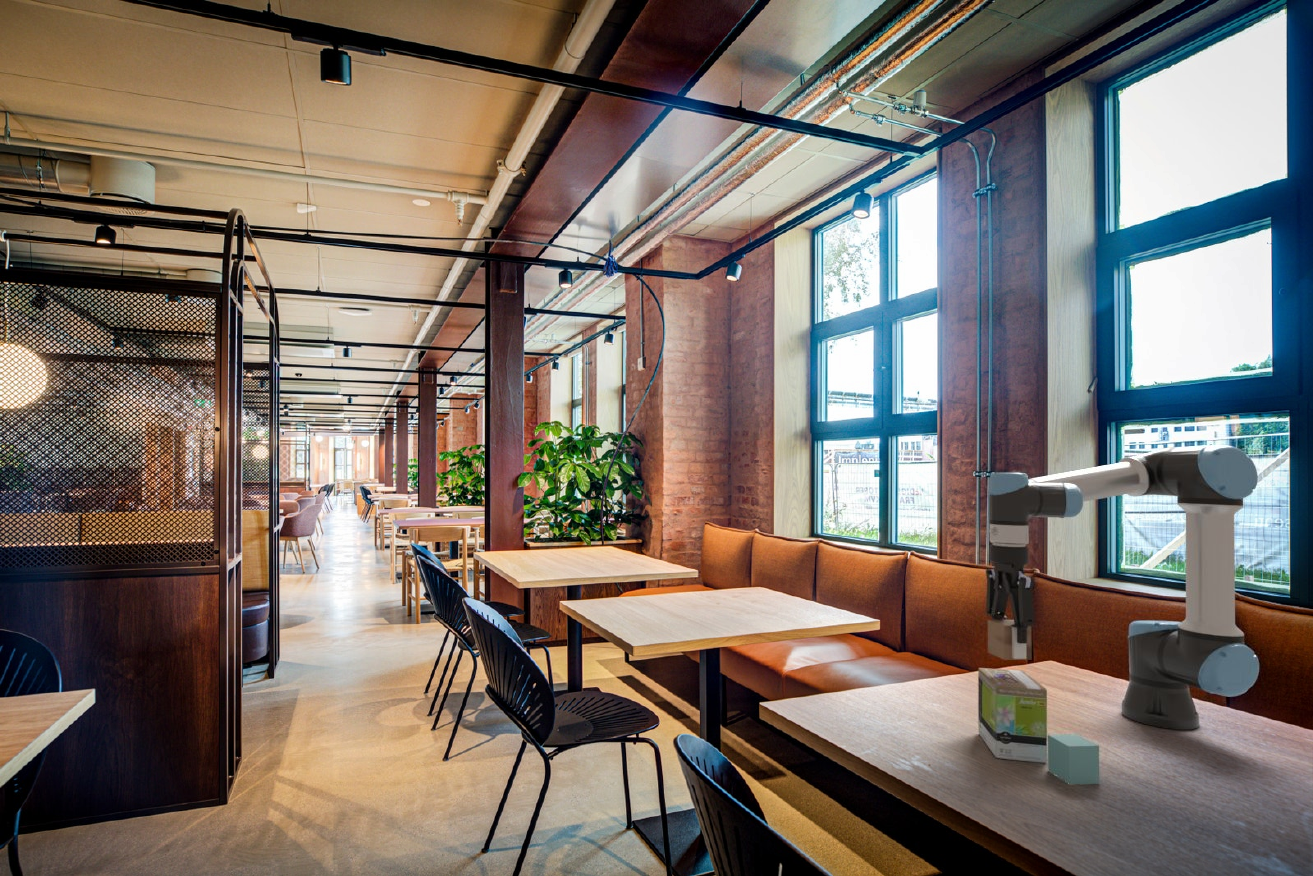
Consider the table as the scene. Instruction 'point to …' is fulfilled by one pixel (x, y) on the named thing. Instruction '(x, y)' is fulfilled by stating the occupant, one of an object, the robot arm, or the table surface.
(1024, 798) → the table surface
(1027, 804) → the table surface
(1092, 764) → the teal block
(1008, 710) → the tea box
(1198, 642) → the robot arm
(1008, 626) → the walnut block
